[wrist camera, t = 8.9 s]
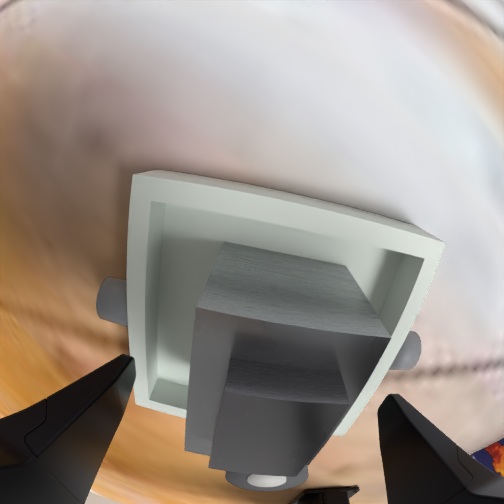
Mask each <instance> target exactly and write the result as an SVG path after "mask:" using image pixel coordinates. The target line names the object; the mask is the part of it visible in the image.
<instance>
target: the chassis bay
mask: <svg viewBox="0 0 504 504" xmlns="http://www.w3.org/2000/svg"><path fill="white" fill-rule="evenodd" d="M224 241H225V242H230V243H235V244H240V245H245V246H250V247H255V248H260V249H265V250H270V251H275V252H280V253H285V254H290V255H295V256H300V257H305V258H310V259H315V260H320V261H325V262H330V263H335V264H340V265H345V266H346V267H347V268H348V270H349V271H350V273H351V274H352V276H353V277H354V279H355V280H356V282H357V283H358V285H359V287H360V288H361V290H362V291H363V293H364V294H365V296H366V297H367V299H368V301H369V302H370V304H371V305H372V307H373V308H374V310H375V312H376V313H377V315H378V316H379V318H380V320H381V321H382V323H383V325H384V326H385V328H386V330H387V331H388V333H389V335H390V336H391V340H390V342H389V344H388V346H387V348H386V350H385V351H384V353H383V355H382V357H381V359H380V361H379V362H378V364H377V366H376V368H375V370H374V371H373V373H372V375H371V376H370V378H369V380H368V382H367V383H366V385H365V386H364V388H363V390H362V391H361V393H360V395H359V396H358V398H357V399H356V401H355V402H354V404H353V405H352V407H351V408H350V410H349V411H348V413H347V414H346V416H345V417H344V419H343V420H342V422H341V423H340V425H339V426H338V427H337V429H336V430H335V431H334V433H333V434H332V435H344V434H345V433H346V432H347V430H348V429H349V428H350V427H351V425H352V424H353V422H354V421H355V420H356V418H357V417H358V416H359V414H360V413H361V411H362V410H363V408H364V407H365V406H366V404H367V403H368V401H369V400H370V398H371V397H372V395H373V394H374V392H375V390H376V389H377V387H378V386H379V384H380V383H381V381H382V379H383V378H384V376H385V374H386V373H387V371H388V370H410V369H412V368H413V367H414V366H415V365H416V364H417V362H418V360H419V357H420V354H421V340H420V337H419V335H418V334H417V333H416V332H414V331H410V329H411V327H412V325H413V323H414V321H415V319H416V317H417V315H418V312H419V310H420V308H421V306H422V304H423V301H424V299H425V297H426V294H427V292H428V290H429V287H430V285H431V282H432V280H433V277H434V275H435V272H436V270H437V267H438V264H439V262H440V259H441V256H442V253H443V250H444V247H445V245H446V243H445V242H443V241H441V240H440V239H438V238H436V237H435V236H433V235H431V234H430V233H428V232H426V231H424V230H423V229H421V228H419V227H417V226H415V225H411V224H408V223H405V222H401V221H398V220H395V219H391V218H388V217H384V216H381V215H377V214H374V213H370V212H366V211H363V210H359V209H355V208H351V207H347V206H344V205H340V204H336V203H332V202H328V201H323V200H319V199H315V198H311V197H307V196H302V195H298V194H293V193H289V192H284V191H280V190H275V189H270V188H265V187H260V186H255V185H250V184H245V183H240V182H234V181H229V180H223V179H217V178H212V177H206V176H200V175H193V174H187V173H180V172H173V171H166V170H159V169H158V170H153V171H147V172H142V173H137V174H133V176H132V185H131V195H130V207H129V220H128V239H127V281H126V280H122V279H118V278H114V277H107V278H106V279H105V280H104V281H103V283H102V284H101V286H100V289H99V292H98V296H97V302H96V308H97V313H98V316H99V317H100V318H101V319H104V320H107V321H110V322H113V323H117V324H120V325H123V326H127V327H128V336H129V349H130V356H132V357H134V359H135V366H136V379H135V382H134V385H133V387H134V395H135V402H136V404H137V405H140V406H143V407H146V408H150V409H153V410H157V411H160V412H164V413H167V414H171V415H175V416H179V417H183V418H186V413H187V398H188V384H189V372H190V360H191V350H192V339H193V330H194V320H195V311H196V306H197V304H198V301H199V299H200V297H201V294H202V292H203V289H204V287H205V285H206V282H207V280H208V278H209V275H210V273H211V271H212V269H213V266H214V264H215V262H216V259H217V257H218V255H219V252H220V250H221V248H222V246H223V243H224Z"/></svg>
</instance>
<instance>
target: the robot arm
mask: <svg viewBox="0 0 504 504" xmlns="http://www.w3.org/2000/svg"><path fill="white" fill-rule="evenodd" d="M135 379H136V366H135V359H134V357H132V356H129V355H126V354H122V355H120V356H118V357H116V358H115V359H113V360H111V361H110V362H108V363H106V364H104V365H103V366H101V367H99V368H98V369H96V370H94V371H92V372H91V373H89V374H87V375H85V376H84V377H82V378H80V379H79V380H77V381H75V382H73V383H72V384H70V385H68V386H66V387H65V388H63V389H61V390H59V391H57V392H56V393H54V394H52V395H50V396H49V397H47V399H46V398H45V399H43V400H41V401H39V402H38V403H36V404H34V405H32V406H30V407H28V408H26V409H24V410H21V411H19V412H17V413H14V414H12V415H9V416H6V417H4V418H1V419H0V504H84V503H85V501H86V498H87V496H88V493H89V491H90V489H91V487H92V484H93V482H94V479H95V477H96V475H97V472H98V470H99V468H100V466H101V463H102V461H103V459H104V457H105V454H106V452H107V450H108V448H109V445H110V443H111V441H112V439H113V437H114V435H115V432H116V430H117V428H118V426H119V424H120V422H121V420H122V417H123V415H124V412H125V409H126V406H127V403H128V400H129V397H130V394H131V391H132V388H133V385H134V382H135ZM378 426H379V441H380V450H381V456H382V463H383V469H384V476H385V483H386V491H387V500H388V504H504V477H503V476H500V475H497V474H495V473H494V472H492V471H491V470H489V469H488V468H487V467H485V466H484V465H482V464H481V463H479V462H478V461H477V460H475V459H474V458H472V457H471V456H470V455H469V454H467V453H466V452H465V451H464V450H462V449H461V448H460V447H459V446H458V445H456V443H454V442H453V441H452V440H451V439H450V438H449V437H447V436H446V435H445V434H444V433H443V432H442V431H440V430H439V429H438V428H437V427H436V426H435V425H434V424H432V423H431V422H430V421H429V420H428V419H427V418H426V417H424V416H423V415H422V414H421V413H420V412H419V411H418V410H416V409H415V408H414V407H413V406H412V405H411V404H410V403H408V402H407V401H406V400H405V399H404V398H403V397H402V396H400V395H399V394H389V395H388V396H387V397H386V398H385V400H384V401H383V402H382V404H381V405H380V407H379V409H378ZM359 490H360V489H359V487H351V488H340V489H326V490H306V491H304V492H302V493H301V494H300V495H299V496H298V497H297V498H296V499H295V500H294V501H293V502H291V503H290V504H350V503H349V498H350V497H352V496H353V495H354V494H356V493H357V492H358V491H359Z"/></svg>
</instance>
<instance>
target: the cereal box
mask: <svg viewBox="0 0 504 504" xmlns="http://www.w3.org/2000/svg"><path fill="white" fill-rule="evenodd" d="M471 457H472V458H474V459H475V460H477V461H478V462H479V463H481V464H482V465H484V466H485V467H487V468H488V469H489V470H491V471H492V472H494V473H495V474H497V475H500V476H503V477H504V438H503V439H501V440H500V441H498V442H496V443H494V444H492V445H490V446H488V447H486V448H484V449H482V450H479V451H477V452H475V453H474V454H473V455H472V456H471Z"/></svg>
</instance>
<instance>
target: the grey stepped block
mask: <svg viewBox="0 0 504 504" xmlns="http://www.w3.org/2000/svg"><path fill="white" fill-rule="evenodd" d="M390 340H391V336H390V335H389V333H388V331H387V330H386V328H385V326H384V325H383V323H382V321H381V320H380V318H379V316H378V315H377V313H376V312H375V310H374V308H373V307H372V305H371V304H370V302H369V301H368V299H367V297H366V296H365V294H364V293H363V291H362V290H361V288H360V287H359V285H358V283H357V282H356V280H355V279H354V277H353V276H352V274H351V273H350V271H349V270H348V268H347V267H346V266H345V265H340V264H335V263H330V262H325V261H320V260H315V259H310V258H305V257H300V256H295V255H290V254H285V253H280V252H275V251H270V250H265V249H260V248H255V247H250V246H245V245H240V244H235V243H230V242H225V241H224V243H223V246H222V248H221V250H220V252H219V255H218V257H217V259H216V262H215V264H214V266H213V269H212V271H211V273H210V275H209V278H208V280H207V282H206V285H205V287H204V289H203V292H202V294H201V297H200V299H199V301H198V304H197V306H196V311H195V320H194V330H193V339H192V350H191V360H190V372H189V384H188V398H187V413H186V430H185V451H188V452H193V453H198V454H203V455H208V456H210V461H209V467H208V468H212V469H217V470H224V471H231V472H238V473H246V474H256V475H269V476H288V477H296V476H297V475H298V474H299V472H300V471H301V470H302V469H303V468H304V466H305V465H309V464H310V462H311V461H312V460H313V459H314V458H315V456H316V455H317V454H318V453H319V451H320V450H321V449H322V447H323V446H324V445H325V444H326V442H327V441H328V440H329V438H330V437H331V436H332V434H333V433H334V431H335V430H336V429H337V427H338V426H339V425H340V423H341V422H342V420H343V419H344V417H345V416H346V414H347V413H348V411H349V410H350V408H351V407H352V405H353V404H354V402H355V401H356V399H357V398H358V396H359V395H360V393H361V391H362V390H363V388H364V386H365V385H366V383H367V382H368V380H369V378H370V376H371V375H372V373H373V371H374V370H375V368H376V366H377V364H378V362H379V361H380V359H381V357H382V355H383V353H384V351H385V350H386V348H387V346H388V344H389V342H390Z"/></svg>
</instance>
